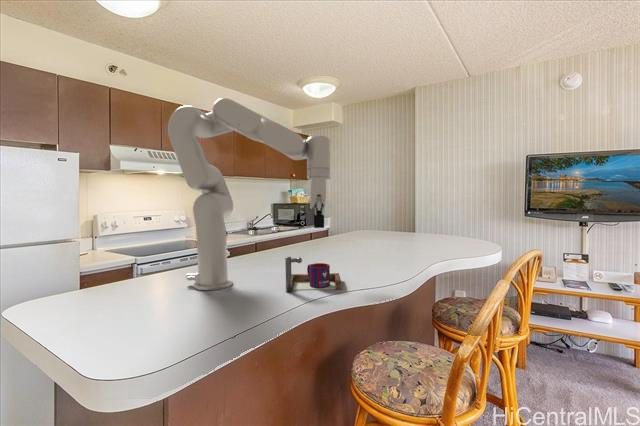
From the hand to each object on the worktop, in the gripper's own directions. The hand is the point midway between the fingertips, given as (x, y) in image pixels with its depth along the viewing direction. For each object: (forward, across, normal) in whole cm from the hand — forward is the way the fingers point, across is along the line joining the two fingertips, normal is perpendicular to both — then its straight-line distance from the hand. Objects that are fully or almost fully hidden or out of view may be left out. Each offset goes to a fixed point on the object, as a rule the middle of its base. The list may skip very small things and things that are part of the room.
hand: (318, 226), depth 107 cm
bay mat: (+20, 0, -2) cm, 20 cm away
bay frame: (+20, 0, -2) cm, 20 cm away
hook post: (+20, +6, -8) cm, 23 cm away
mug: (+20, -1, -1) cm, 20 cm away
